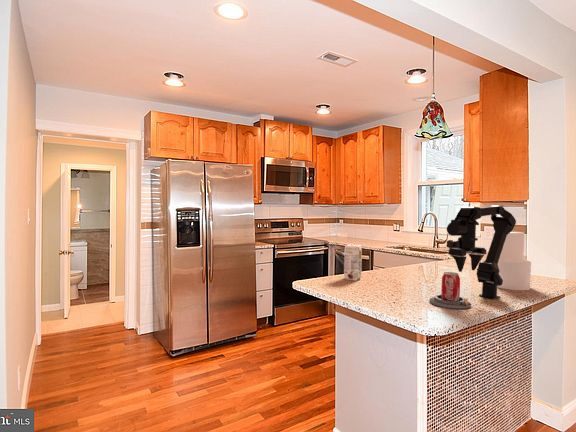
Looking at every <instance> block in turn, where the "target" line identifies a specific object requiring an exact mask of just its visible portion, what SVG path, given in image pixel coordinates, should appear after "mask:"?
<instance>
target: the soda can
mask: <svg viewBox="0 0 576 432" xmlns="http://www.w3.org/2000/svg"><path fill="white" fill-rule="evenodd" d="M440 288H441V293H440V294H441V297H442V299H443V300H447V301H459V298H460V297H461V295H460V294H461V291H460V290H461V277H460V276H459V273H457V272H452V271H444V272H443V275H442V277H441V287H440Z"/></svg>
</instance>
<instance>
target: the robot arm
mask: <svg viewBox="0 0 576 432" xmlns="http://www.w3.org/2000/svg"><path fill="white" fill-rule="evenodd" d="M486 216H487V217H488V216H490V220H491V221H492V223H493V224H492V226H493V227H492V228H493V230H494V232H495V233H494V236H493V235H492V240H491V242H490V246H489V248H488V251H487V249H486V248H485V247H482V246H481V247H480V246H476V241H477V242H478V240H479V238H478V237H477V235H476V234H477V233H476V232H477V226H479V225H480V223H479V222H478V221H477V220H479V219H481V218H482V217H486ZM516 224H517V219H516V218H515V217H514V215H513V213H511V212H510V211H508V210H506V209H505V208H504V206H502V205H491V206H490V205H488V206H481V207H478V206H461V207H460V209H459V211H458V213H457V214H456V216H455V218H454V219H451V220H450V222H449V223H448V224H447V227H446V233H447V234H448V235H449V236H452V237H453V236H454V237H455V236H456V237H457V236H458V238H457V240H455V241H454V240H453V239H449V240H446V248H448V251H447V252H448V255H450V257H452V258H453V259H454V261H455V262H456V263H455V264H456V266H457V270H458V272H459V273H462V272H463V269H464V266H465V263H466V261H467V256H466V255H467V254H468V256H469V258H470V265H471V266H470V267H471V271H475V270H476V278H477V282H478V283H482V288H481V294H478V296H479V297H483V298H486V299H491V300H495V299H499V298H501V296H500V295H498V287H497V286H501V285H502V283H503V280H502V278H501V277H500V275H499V271H500V270H499V267H498V261H499V258H500V255H501V252H502V249H503V245H504V242H505V239H506V236H507V235H508V234H509V233H510V232H513V230H514V229H515V228H514V227H516ZM459 236H460V237H459ZM485 255H486V257H485ZM483 257H485V260H484V261H482V260H483ZM477 266H478V267H477ZM476 268H477V269H476Z"/></svg>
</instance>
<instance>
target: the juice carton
mask: <svg viewBox="0 0 576 432" xmlns="http://www.w3.org/2000/svg"><path fill="white" fill-rule="evenodd" d="M362 249H363V248H362V245H358V244H357V245H356V244H352V243H349V244H345V246H344V251H343V252H344V255H343V258H344V259H343V260H344V261H343V276H344V280H346V281H347V280H348V281H355V282H356V281H359V280H361V277H362V262H363V261H362V259H363V257H362V256H363V251H362Z"/></svg>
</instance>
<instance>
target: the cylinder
mask: <svg viewBox="0 0 576 432" xmlns="http://www.w3.org/2000/svg"><path fill="white" fill-rule="evenodd" d="M494 233H495V231H493V232H492V237H493V236H494ZM524 253H525V232H524V231H522V232H520V231H511V232H510V233H509V234H508V235H507V236H506V239H505V242H504V245H503V249H502V252H501V255H500V258H499V261H498V267H499V270H500V271H499V275H500V277H501V278H502V280H503V283H502V285H501V286H497V288H500V289H504V290H505V289H506V290H511V291H529V290H530V289H531V274H532V273H531V272H532V261H531V260H528V259H525V258H524V256H525V254H524Z"/></svg>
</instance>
